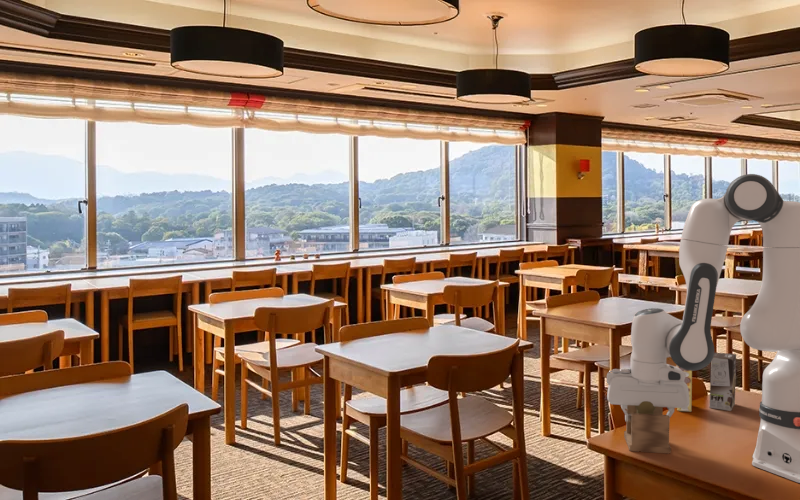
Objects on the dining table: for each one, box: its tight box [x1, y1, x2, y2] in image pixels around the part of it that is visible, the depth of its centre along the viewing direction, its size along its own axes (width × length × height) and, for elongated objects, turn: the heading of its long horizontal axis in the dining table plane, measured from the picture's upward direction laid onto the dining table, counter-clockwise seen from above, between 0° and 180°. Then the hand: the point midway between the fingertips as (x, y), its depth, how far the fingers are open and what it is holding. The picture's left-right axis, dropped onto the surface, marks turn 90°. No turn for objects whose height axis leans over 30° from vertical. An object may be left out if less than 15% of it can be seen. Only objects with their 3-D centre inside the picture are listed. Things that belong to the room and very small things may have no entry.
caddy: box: [623, 405, 672, 454], centre depth 177 cm, size 10×11×10 cm
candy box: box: [675, 364, 693, 413], centre depth 209 cm, size 9×4×15 cm, turn 162°
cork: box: [635, 401, 656, 414], centre depth 177 cm, size 6×6×11 cm
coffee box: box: [709, 352, 737, 412], centre depth 210 cm, size 9×6×16 cm
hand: (646, 422), depth 176 cm, fingers open, 8 cm apart
